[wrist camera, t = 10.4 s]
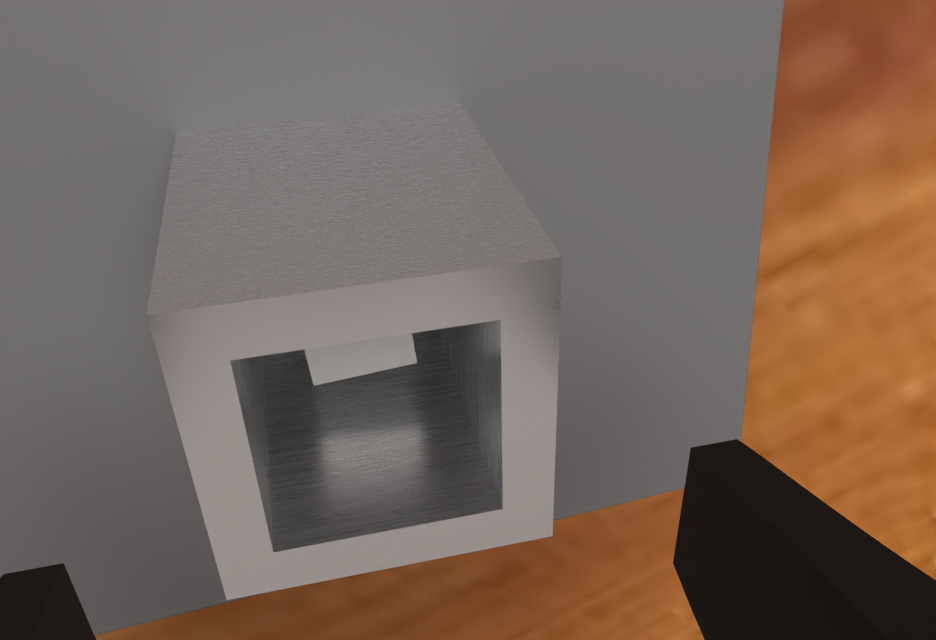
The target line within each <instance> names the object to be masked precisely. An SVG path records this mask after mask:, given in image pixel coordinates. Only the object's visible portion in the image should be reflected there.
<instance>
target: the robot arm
mask: <svg viewBox="0 0 936 640" xmlns="http://www.w3.org/2000/svg"><path fill="white" fill-rule="evenodd" d="M673 564H674V566H675V569H676V571H677V574H678V576H679V579H680V581H681V584H682V586H683V589H684V591H685V594H686V596H687V599H688V601H689V604H690V606H691V609H692V611H693V613H694V616H695V618H696V620H697V623H698V625H699V627H700V630H701V632H702V634H703V637H704V639H705V640H936V580H934V579H933V578H931V577H930V576H928V575H927V574H925V573H924V572H922V571H921V570H919V569H918V568H916V567H915V566H913V565H912V564H910V563H909V562H907V561H906V560H904V559H903V558H902V557H900V556H899V555H897V554H896V553H894V552H893V551H891V550H890V549H889V548H887V547H886V546H884V545H883V544H881V543H880V542H879V541H877V540H876V539H874V538H873V537H871V536H870V535H869V534H867V533H866V532H864V531H863V530H862V529H860V528H859V527H857V526H856V525H855V524H853V523H852V522H850V521H849V520H848V519H846V518H845V517H843V516H842V515H841V514H839V513H838V512H836V511H835V510H834V509H832V508H831V507H830V506H828V505H827V504H826V503H824V502H823V501H821V500H820V499H819V498H817V497H816V496H815V495H813V494H812V493H810V492H809V491H808V490H806V489H805V488H804V487H802V486H801V485H800V484H798V483H797V482H796V481H794V480H793V479H791V478H790V477H789V476H787V475H786V474H785V473H783V472H782V471H781V470H779V469H778V468H777V467H775V466H774V465H773V464H771V463H770V462H768V461H767V460H766V459H764V458H763V457H762V456H760V455H759V454H757V453H756V452H755V451H753V450H752V449H750V448H749V447H748V446H746V445H745V444H743V443H742V442H741V441H739V440H738V439H735V440H730V441H724V442H719V443H713V444H708V445H702V446H697V447H692V448H691V449H690V455H689V462H688V468H687V475H686V482H685V488H684V495H683V501H682V508H681V515H680V521H679V528H678V534H677V541H676V548H675V554H674V561H673ZM0 640H96V638H95V636H94V634H93V631H92V629H91V627H90V624H89V622H88V619H87V617H86V615H85V612H84V610H83V608H82V605H81V603H80V600H79V598H78V596H77V593H76V591H75V589H74V586H73V584H72V582H71V579H70V577H69V574H68V572H67V570H66V567H65V565H64V563H62V564H56V565H51V566H45V567H40V568H34V569H29V570H24V571H18V572H13V573H7V574H3V575H2V576H1V578H0Z"/></svg>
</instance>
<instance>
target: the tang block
mask: <svg viewBox="0 0 936 640" xmlns="http://www.w3.org/2000/svg"><path fill="white" fill-rule="evenodd" d="M783 6H784V0H0V578H1V576H2V575H3V574H7V573H13V572H18V571H24V570H29V569H34V568H40V567H45V566H51V565H56V564H62V563H64V565H65V567H66V570H67V572H68V574H69V577H70V579H71V582H72V584H73V586H74V589H75V591H76V593H77V596H78V598H79V600H80V603H81V605H82V608H83V610H84V612H85V615H86V617H87V619H88V622H89V624H90V627H91V629H92V631H93V634H94V635H97V634H101V633H105V632H109V631H113V630H117V629H121V628H125V627H129V626H133V625H137V624H141V623H145V622H149V621H153V620H157V619H161V618H165V617H169V616H173V615H177V614H181V613H185V612H189V611H193V610H197V609H201V608H205V607H209V606H213V605H217V604H221V603H225V602H229V601H233V600H237V599H241V598H245V597H241V598H236V599H231V600H226V596H225V593H224V589H223V585H222V582H221V578H220V575H219V571H218V568H217V564H216V561H215V557H214V553H213V550H212V546H211V543H210V539H209V536H208V532H207V529H206V525H205V521H204V518H203V514H202V511H201V507H200V504H199V500H198V497H197V493H196V489H195V486H194V482H193V479H192V475H191V472H190V468H189V464H188V461H187V457H186V454H185V450H184V447H183V443H182V440H181V436H180V432H179V429H178V425H177V422H176V418H175V415H174V411H173V408H172V404H171V400H170V397H169V393H168V390H167V386H166V383H165V379H164V376H163V372H162V368H161V365H160V361H159V358H158V354H157V351H156V347H155V344H154V340H153V336H152V333H151V329H150V326H149V322H148V319H147V309H148V303H149V296H150V290H151V284H152V278H153V272H154V266H155V260H156V254H157V247H158V241H159V235H160V229H161V223H162V217H163V211H164V204H165V198H166V192H167V186H168V180H169V174H170V168H171V161H172V155H173V149H174V143H175V137H176V132H182V131H191V130H201V129H210V128H220V127H229V126H239V125H248V124H258V123H267V122H276V121H286V120H295V119H305V118H314V117H324V116H333V115H343V114H352V113H361V112H371V111H380V110H390V109H399V108H409V107H418V106H428V105H437V104H447V103H456V102H460V103H461V105H462V106H463V108H464V109H465V111H466V112H467V114H468V115H469V117H470V118H471V120H472V121H473V123H474V124H475V126H476V127H477V129H478V130H479V132H480V134H481V135H482V137H483V138H484V140H485V141H486V143H487V144H488V146H489V147H490V149H491V150H492V152H493V153H494V155H495V156H496V158H497V159H498V161H499V162H500V164H501V165H502V167H503V168H504V170H505V171H506V173H507V174H508V176H509V177H510V179H511V180H512V182H513V183H514V185H515V186H516V188H517V189H518V191H519V192H520V194H521V195H522V197H523V199H524V200H525V202H526V203H527V205H528V206H529V208H530V209H531V211H532V212H533V214H534V215H535V217H536V218H537V220H538V221H539V223H540V224H541V226H542V227H543V229H544V230H545V232H546V233H547V235H548V236H549V238H550V239H551V241H552V242H553V244H554V245H555V247H556V248H557V250H558V251H559V253H560V254H561V256H562V275H561V304H560V334H559V363H558V393H557V422H556V451H555V481H554V510H553V520H557V519H561V518H565V517H569V516H573V515H577V514H581V513H585V512H589V511H593V510H597V509H601V508H605V507H609V506H613V505H617V504H621V503H625V502H629V501H633V500H637V499H641V498H645V497H649V496H653V495H657V494H661V493H665V492H669V491H673V490H677V489H681V488H685V482H686V475H687V468H688V462H689V455H690V449H691V448H692V447H697V446H702V445H708V444H713V443H719V442H724V441H730V440H735V439H738V440H739V441H741V434H742V424H743V414H744V404H745V393H746V383H747V373H748V363H749V353H750V342H751V332H752V322H753V312H754V302H755V291H756V281H757V271H758V261H759V250H760V240H761V230H762V220H763V210H764V199H765V189H766V179H767V169H768V159H769V148H770V138H771V128H772V118H773V108H774V97H775V87H776V77H777V67H778V57H779V46H780V36H781V26H782V16H783ZM304 351H305V355H306V358H307V362H308V366H309V370H310V373H311V377H312V381H313V385H314V386H315V385H320V384H324V383H329V382H333V381H338V380H342V379H347V378H351V377H356V376H360V375H365V374H369V373H374V372H378V371H383V370H388V369H392V368H397V367H401V366H406V365H410V364H415V363H417V359H416V353H415V347H414V341H413V336H412V333H410V334H403V335H397V336H390V337H383V338H377V339H370V340H363V341H357V342H350V343H344V344H337V345H330V346H324V347H317V348H310V349H304ZM256 595H257V594H256ZM251 596H253V595H251ZM246 597H249V596H246Z"/></svg>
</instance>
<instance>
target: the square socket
mask: <svg viewBox="0 0 936 640" xmlns="http://www.w3.org/2000/svg"><path fill="white" fill-rule="evenodd" d="M561 275H562V256H561V254H560V253H559V251H558V250H557V248H556V247H555V245H554V244H553V242H552V241H551V239H550V238H549V236H548V235H547V233H546V232H545V230H544V229H543V227H542V226H541V224H540V223H539V221H538V220H537V218H536V217H535V215H534V214H533V212H532V211H531V209H530V208H529V206H528V205H527V203H526V202H525V200H524V199H523V197H522V195H521V194H520V192H519V191H518V189H517V188H516V186H515V185H514V183H513V182H512V180H511V179H510V177H509V176H508V174H507V173H506V171H505V170H504V168H503V167H502V165H501V164H500V162H499V161H498V159H497V158H496V156H495V155H494V153H493V152H492V150H491V149H490V147H489V146H488V144H487V143H486V141H485V140H484V138H483V137H482V135H481V134H480V132H479V130H478V129H477V127H476V126H475V124H474V123H473V121H472V120H471V118H470V117H469V115H468V114H467V112H466V111H465V109H464V108H463V106H462V105H461V103H460V102H456V103H447V104H437V105H428V106H418V107H409V108H399V109H390V110H380V111H371V112H361V113H352V114H343V115H333V116H324V117H314V118H305V119H295V120H286V121H276V122H267V123H258V124H248V125H239V126H229V127H220V128H210V129H201V130H191V131H182V132H176V137H175V143H174V149H173V155H172V161H171V168H170V174H169V180H168V186H167V192H166V198H165V204H164V211H163V217H162V223H161V229H160V235H159V241H158V247H157V254H156V260H155V266H154V272H153V278H152V284H151V290H150V296H149V303H148V309H147V319H148V322H149V326H150V329H151V333H152V336H153V340H154V344H155V347H156V351H157V354H158V358H159V361H160V365H161V368H162V372H163V376H164V379H165V383H166V386H167V390H168V393H169V397H170V400H171V404H172V408H173V411H174V415H175V418H176V422H177V425H178V429H179V432H180V436H181V440H182V443H183V447H184V450H185V454H186V457H187V461H188V464H189V468H190V472H191V475H192V479H193V482H194V486H195V489H196V493H197V497H198V500H199V504H200V507H201V511H202V514H203V518H204V521H205V525H206V529H207V532H208V536H209V539H210V543H211V546H212V550H213V553H214V557H215V561H216V564H217V568H218V571H219V575H220V578H221V582H222V585H223V589H224V593H225V596H226V600H231V599H236V598H241V597H246V596H251V595H256V594H261V593H266V592H271V591H276V590H281V589H286V588H292V587H297V586H302V585H307V584H312V583H317V582H322V581H327V580H332V579H337V578H342V577H347V576H353V575H358V574H363V573H368V572H373V571H378V570H383V569H388V568H393V567H398V566H403V565H408V564H414V563H419V562H424V561H429V560H434V559H439V558H444V557H449V556H454V555H459V554H464V553H470V552H475V551H480V550H485V549H490V548H495V547H500V546H505V545H510V544H515V543H520V542H525V541H531V540H536V539H541V538H546V537H551V536H553V510H554V481H555V451H556V422H557V393H558V363H559V334H560V304H561ZM410 333H412V336H413V341H414V347H415V353H416V359H417V363H415V364H410V365H406V366H401V367H397V368H392V369H388V370H383V371H378V372H374V373H369V374H365V375H360V376H356V377H351V378H347V379H342V380H338V381H333V382H329V383H324V384H320V385H315V386H314V385H313V381H312V377H311V373H310V370H309V366H308V362H307V358H306V355H305V351H304V349H310V348H317V347H324V346H330V345H337V344H344V343H350V342H357V341H363V340H370V339H377V338H383V337H390V336H397V335H403V334H410Z"/></svg>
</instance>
